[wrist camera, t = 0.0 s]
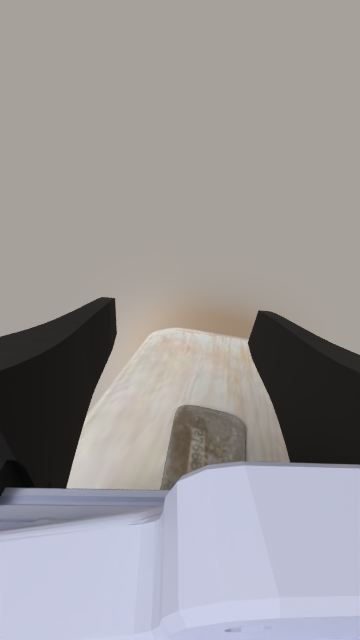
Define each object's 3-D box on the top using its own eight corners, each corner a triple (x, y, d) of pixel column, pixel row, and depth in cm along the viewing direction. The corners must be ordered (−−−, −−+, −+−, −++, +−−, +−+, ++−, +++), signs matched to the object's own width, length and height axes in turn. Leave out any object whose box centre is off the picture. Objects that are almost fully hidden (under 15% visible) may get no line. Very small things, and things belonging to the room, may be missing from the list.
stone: (178, 400, 34) (245, 410, 32) (178, 415, 35) (242, 425, 33) (131, 561, 17) (266, 601, 15) (133, 580, 18) (260, 620, 16)
